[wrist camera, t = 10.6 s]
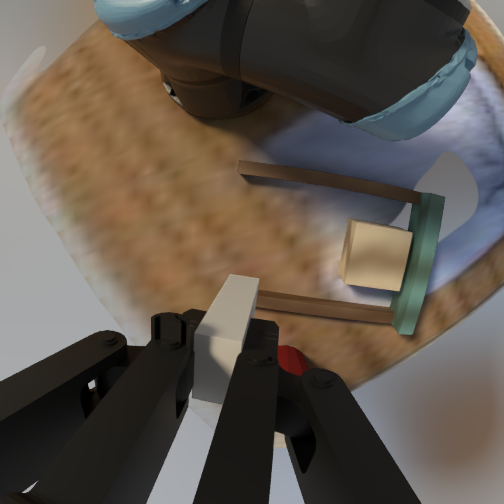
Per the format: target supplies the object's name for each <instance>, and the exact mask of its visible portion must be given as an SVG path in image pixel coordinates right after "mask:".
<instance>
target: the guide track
mask: <svg viewBox="0 0 504 504" xmlns="http://www.w3.org/2000/svg"><path fill="white" fill-rule="evenodd" d="M237 173H238V174H244V175H252V176H260V177H268V178H275V179H282V180H289V181H296V182H302V183H309V184H315V185H321V186H327V187H333V188H339V189H344V190H350V191H355V192H360V193H365V194H370V195H375V196H380V197H385V198H390V199H395V200H399V201H404V202H408V203H412V209H411V216H410V221H409V227H408V231H409V232H412V233H413V234H412V239H411V244H410V249H409V253H408V258H407V262H406V267H405V271H404V275H403V279H402V283H401V287H400V291H394V294H393V298H392V302H391V305H390V307H382V306H373V305H365V304H357V303H349V302H341V301H333V300H325V299H318V298H311V297H304V296H296V295H289V294H283V293H276V292H269V291H262V290H258V293H257V300H256V307H261V308H268V309H275V310H281V311H288V312H296V313H303V314H310V315H318V316H326V317H334V318H342V319H351V320H360V321H369V322H379V323H390V324H392V325H393V326H394V328H395V329H396V331H397V332H398V334H407V335H412V334H413V331H414V329H415V325H416V322H417V319H418V316H419V313H420V310H421V306H422V303H423V299H424V296H425V292H426V289H427V285H428V281H429V277H430V273H431V269H432V265H433V261H434V256H435V252H436V247H437V242H438V237H439V231H440V227H441V220H442V215H443V209H444V202H445V197H444V196H440V195H436V194H432V193H421V192H417V191H413V190H409V189H404V188H400V187H396V186H391V185H387V184H382V183H378V182H373V181H368V180H363V179H358V178H353V177H348V176H342V175H337V174H331V173H325V172H319V171H313V170H307V169H301V168H294V167H287V166H280V165H273V164H265V163H257V162H249V161H240V160H239V164H238V171H237Z"/></svg>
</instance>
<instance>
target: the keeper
mask: <svg viewBox="0 0 504 504" xmlns="http://www.w3.org/2000/svg"><path fill="white" fill-rule="evenodd" d="M412 234H413V233H412V232H409V231H407V230H404V229H402V228H399V227H394V226H389V225H383V224H378V223H373V222H367V221H362V220H356V219H351V218H348V224H347V230H346V236H345V241H344V246H343V252H342V257H341V262H340V267H339V272H338V274H339V275H340V277H341V279H342V280H343V282H344V284H350V285H357V286H364V287H371V288H379V289H386V290H393V291H400V287H401V283H402V279H403V275H404V271H405V267H406V262H407V258H408V253H409V249H410V244H411V239H412Z"/></svg>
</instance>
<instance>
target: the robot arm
mask: <svg viewBox="0 0 504 504" xmlns="http://www.w3.org/2000/svg"><path fill="white" fill-rule="evenodd" d="M94 3H95V12H96V14H97V15H98V17H99V19H100V20H101V21H102V22H103V23H104V24H105V25H106V26H107V27H108V28H109V30H110V31H111V32H112V34H113V35H114V36H115V37H117V38H121V39H122V40H123V41H125V42H126V43H127V44H129V45H130V46H131V47H132V48H134V49H135V50H136V51H137V52H139V53H140V54H141V55H142V56H144V57H145V58H146V59H147V60H149V61H150V62H151V63H152V64H153V65H155V66H156V67H157V68H158V69H160V72H161V77H162V81H163V84H164V87H165V89H166V91H167V93H168V94H169V96H170V97H171V98H172V99H173V101H174V102H175V103H177V104H178V105H179V106H180V107H182V108H183V109H185V110H186V111H188V112H189V113H191V114H193V115H195V116H198V117H201V118H205V119H213V120H224V119H231V118H236V117H239V116H242V115H245V114H247V113H249V112H251V111H253V110H255V109H257V108H258V107H259V106H261V105H262V104H263V103H265V102H266V101H267V100H268V99H269V98H270V97H271V95H272V94H273V93H276V94H279V95H282V96H284V97H287V98H289V99H292V100H295V101H297V102H300V103H302V104H304V105H307V106H309V107H312V108H314V109H316V110H318V111H321V112H323V113H325V114H328V115H330V116H332V117H334V118H336V119H338V120H339V122H340V123H342V124H344V125H346V126H349V127H357V128H359V129H362V130H364V131H366V132H368V133H370V134H372V135H375V136H377V137H379V138H381V139H383V140H387V141H400V140H408V139H411V138H414V137H416V136H418V135H420V134H422V133H423V132H425V131H427V130H428V129H429V128H431V127H432V126H433V125H435V124H436V123H437V122H438V121H439V120H440V119H441V118H442V117H443V116H444V115H445V114H446V113H447V112H448V111H449V110H450V109H451V108H452V107H453V105H454V104H455V103H456V102H457V100H458V99H459V98H460V96H461V95H462V93H463V92H464V90H465V88H466V86H467V85H468V83H469V81H470V78H471V75H470V73H469V72H470V71H471V70H472V69H473V68H474V66H475V65H476V60H477V47H476V43H475V41H474V39H473V38H472V37H471V35H470V33H469V31H468V30H466V29H465V28H464V27H463V25H464V23H465V21H466V19H467V17H468V15H469V14H470V11H471V9H472V7H471V5H470V2H469V0H94ZM258 285H259V278H253V277H246V276H240V275H233V274H230V275H229V277H228V278H227V280H226V282H225V283H224V285H223V287H222V288H221V290H220V292H219V293H218V295H217V296H216V298H215V300H214V301H213V303H212V305H211V306H210V308H209V310H208V311H202V310H197V309H190V310H188V311H186V312H184V313H183V314H182V315H181V314H178V313H171V312H167V313H159V314H155V315H154V316H152V317H151V340H150V342H149V343H148V344H147V345H146V346H129V345H127V340H126V338H125V336H124V335H123V334H121V333H119V332H115V331H110V330H105V331H99V332H96V333H94V334H92V335H90V336H88V337H86V338H84V339H82V340H80V341H78V342H76V343H74V344H72V345H70V346H68V347H67V348H65V349H63V350H61V351H59V352H57V353H55V354H53V355H51V356H49V357H47V358H45V359H44V360H41V361H39V362H37V363H35V364H33V365H31V366H30V367H28V368H26V369H24V370H22V371H20V372H18V373H16V374H14V375H12V376H10V377H8V378H7V379H4V380H2V381H0V504H146V503H147V500H148V498H149V496H150V493H151V491H152V489H153V486H154V484H155V482H156V480H157V477H158V475H159V473H160V470H161V468H162V466H163V464H164V461H165V459H166V457H167V454H168V452H169V449H170V447H171V445H172V443H173V441H174V438H175V436H176V434H177V431H178V429H179V427H180V425H181V422H182V420H183V417H184V415H185V413H186V411H187V408H188V403H189V394H190V392H191V389H192V398H194V399H199V400H203V401H208V402H213V403H218V404H223V406H222V409H221V413H220V416H219V419H218V423H217V426H216V429H215V433H214V436H213V440H212V443H211V446H210V449H209V453H208V456H207V459H206V462H205V466H204V469H203V472H202V475H201V478H200V482H199V485H198V488H197V491H196V495H195V498H194V501H193V504H269V494H270V484H271V472H272V460H273V448H274V435H275V432H278V433H281V434H284V437H285V443H286V446H287V449H288V452H289V456H290V459H291V462H292V465H293V468H294V471H295V474H296V478H297V481H298V484H299V487H300V490H301V493H302V496H303V500H304V503H305V504H421V502H420V500H419V499H418V497H417V496H416V494H415V493H414V491H413V490H412V488H411V486H410V485H409V483H408V481H407V480H406V478H405V477H404V475H403V474H402V472H401V471H400V469H399V467H398V466H397V464H396V463H395V461H394V459H393V458H392V456H391V455H390V453H389V452H388V450H387V448H386V447H385V445H384V444H383V442H382V440H381V439H380V437H379V436H378V434H377V433H376V431H375V430H374V428H373V426H372V425H371V423H370V422H369V420H368V419H367V417H366V415H365V414H364V412H363V411H362V409H361V408H360V406H359V405H358V403H357V401H356V400H355V398H354V397H353V395H352V394H351V392H350V391H349V389H348V387H347V386H346V384H345V383H344V381H343V380H342V378H341V377H340V376H339V375H338V374H336V373H334V372H332V371H330V370H326V369H319V368H314V369H308V370H306V371H305V372H303V373H302V375H301V376H298V375H294V374H292V373H289V372H287V371H286V370H284V369H283V368H282V367H281V366H280V365H279V361H278V359H277V356H278V338H279V327H278V325H277V324H276V323H275V322H274V321H269V320H262V319H255V318H254V314H255V307H256V300H257V293H258ZM92 380H94V381H95V387H94V388H92V389H89V387H88V383H89V382H91V381H92ZM37 481H38V482H37ZM35 482H37V483H36V484H35V486H34V487H33V488H32V489H31V490H30V491H29V492H27V493H22V492H23V491H25V490H26V489H27V488H28V487H30V486H31V485H32V484H34V483H35Z"/></svg>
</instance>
